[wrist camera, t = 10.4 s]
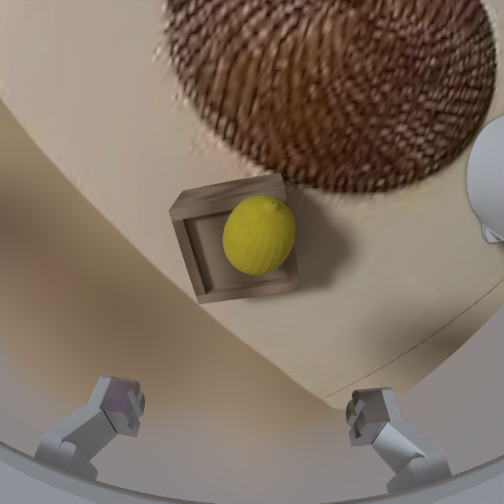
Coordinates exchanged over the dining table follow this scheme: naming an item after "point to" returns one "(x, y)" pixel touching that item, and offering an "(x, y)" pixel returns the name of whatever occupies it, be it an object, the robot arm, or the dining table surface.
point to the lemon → (259, 234)
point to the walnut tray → (211, 240)
